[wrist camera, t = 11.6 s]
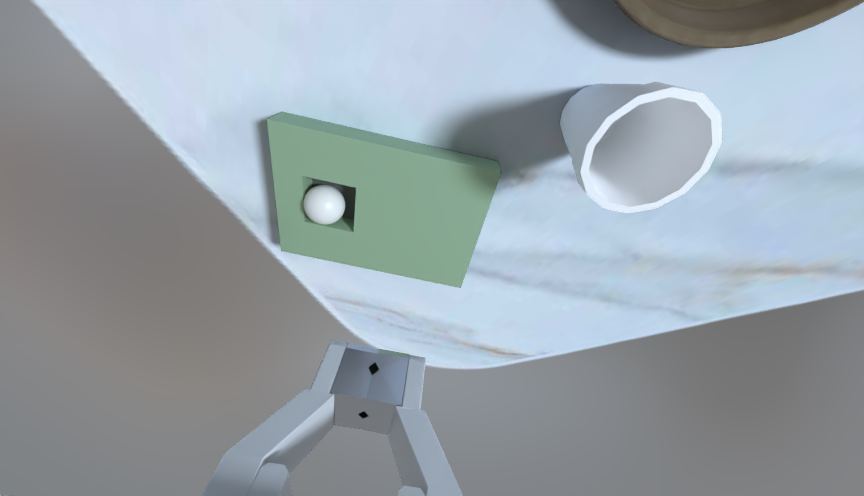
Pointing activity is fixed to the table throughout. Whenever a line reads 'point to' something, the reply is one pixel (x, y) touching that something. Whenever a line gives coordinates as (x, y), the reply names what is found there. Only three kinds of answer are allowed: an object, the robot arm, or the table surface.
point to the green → (380, 199)
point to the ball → (324, 204)
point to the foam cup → (639, 142)
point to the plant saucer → (730, 19)
